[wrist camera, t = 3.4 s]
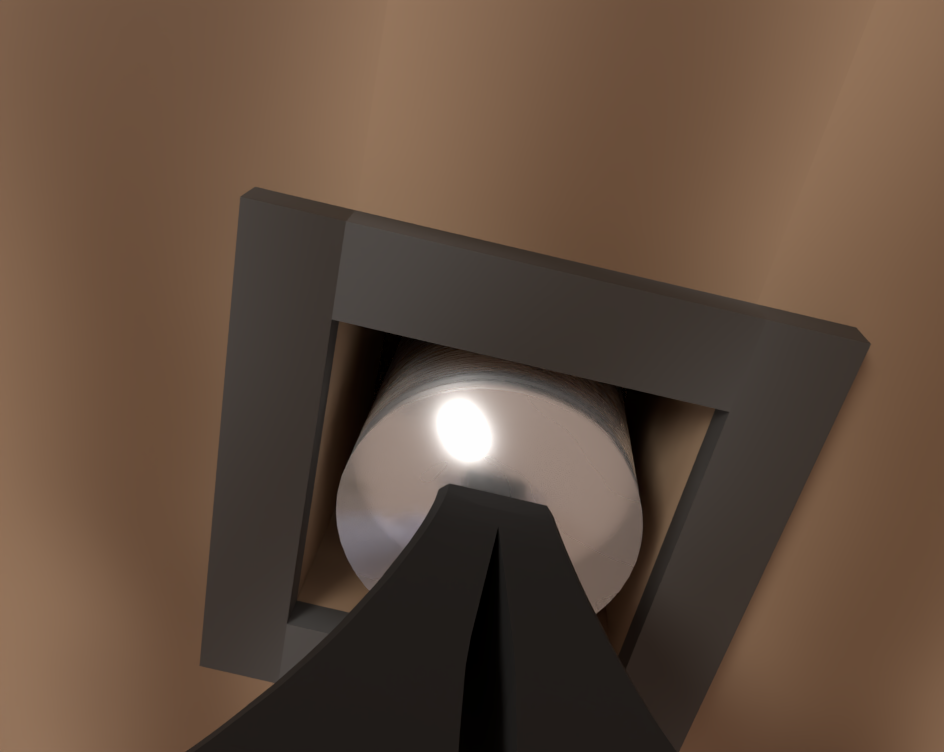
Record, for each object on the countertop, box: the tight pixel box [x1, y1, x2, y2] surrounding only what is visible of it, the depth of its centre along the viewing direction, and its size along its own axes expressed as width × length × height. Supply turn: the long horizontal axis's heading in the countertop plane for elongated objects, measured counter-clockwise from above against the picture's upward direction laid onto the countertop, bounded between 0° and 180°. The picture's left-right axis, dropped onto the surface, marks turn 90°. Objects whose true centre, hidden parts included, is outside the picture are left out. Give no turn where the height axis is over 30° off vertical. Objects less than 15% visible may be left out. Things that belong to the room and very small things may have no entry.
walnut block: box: [0, 0, 944, 752], centre depth 13 cm, size 16×16×6 cm
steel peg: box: [336, 336, 643, 614], centre depth 13 cm, size 4×4×5 cm
